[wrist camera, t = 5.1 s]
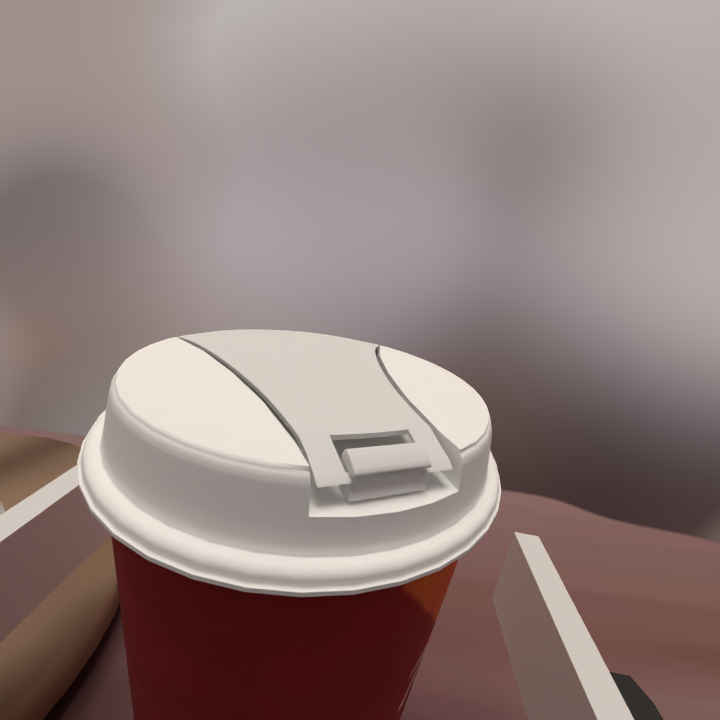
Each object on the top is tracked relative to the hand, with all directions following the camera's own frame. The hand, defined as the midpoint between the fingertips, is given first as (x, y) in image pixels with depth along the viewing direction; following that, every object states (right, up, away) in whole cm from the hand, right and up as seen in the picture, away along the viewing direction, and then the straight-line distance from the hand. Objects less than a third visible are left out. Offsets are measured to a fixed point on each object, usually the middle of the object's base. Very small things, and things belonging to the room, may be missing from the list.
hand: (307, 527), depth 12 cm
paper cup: (-1, -8, -1) cm, 8 cm away
